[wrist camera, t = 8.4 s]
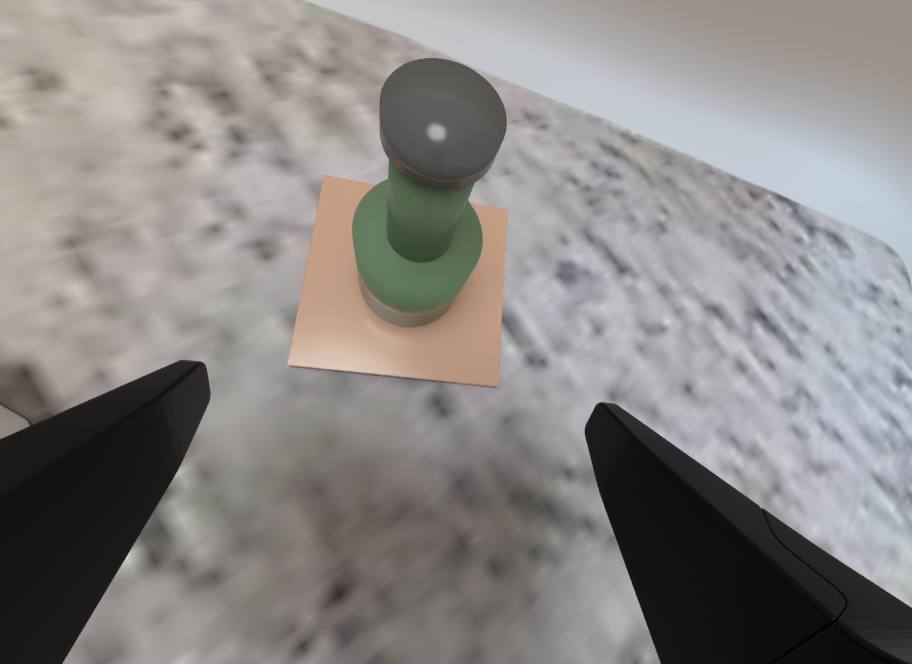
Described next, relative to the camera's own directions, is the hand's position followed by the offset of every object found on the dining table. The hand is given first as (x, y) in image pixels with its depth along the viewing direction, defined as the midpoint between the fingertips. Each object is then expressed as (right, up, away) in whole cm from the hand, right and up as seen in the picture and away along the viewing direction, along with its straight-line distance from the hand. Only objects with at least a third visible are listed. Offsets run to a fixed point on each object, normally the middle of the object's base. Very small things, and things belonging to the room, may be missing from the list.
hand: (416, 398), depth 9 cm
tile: (-2, +5, +15) cm, 16 cm away
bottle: (-2, +5, +14) cm, 15 cm away
